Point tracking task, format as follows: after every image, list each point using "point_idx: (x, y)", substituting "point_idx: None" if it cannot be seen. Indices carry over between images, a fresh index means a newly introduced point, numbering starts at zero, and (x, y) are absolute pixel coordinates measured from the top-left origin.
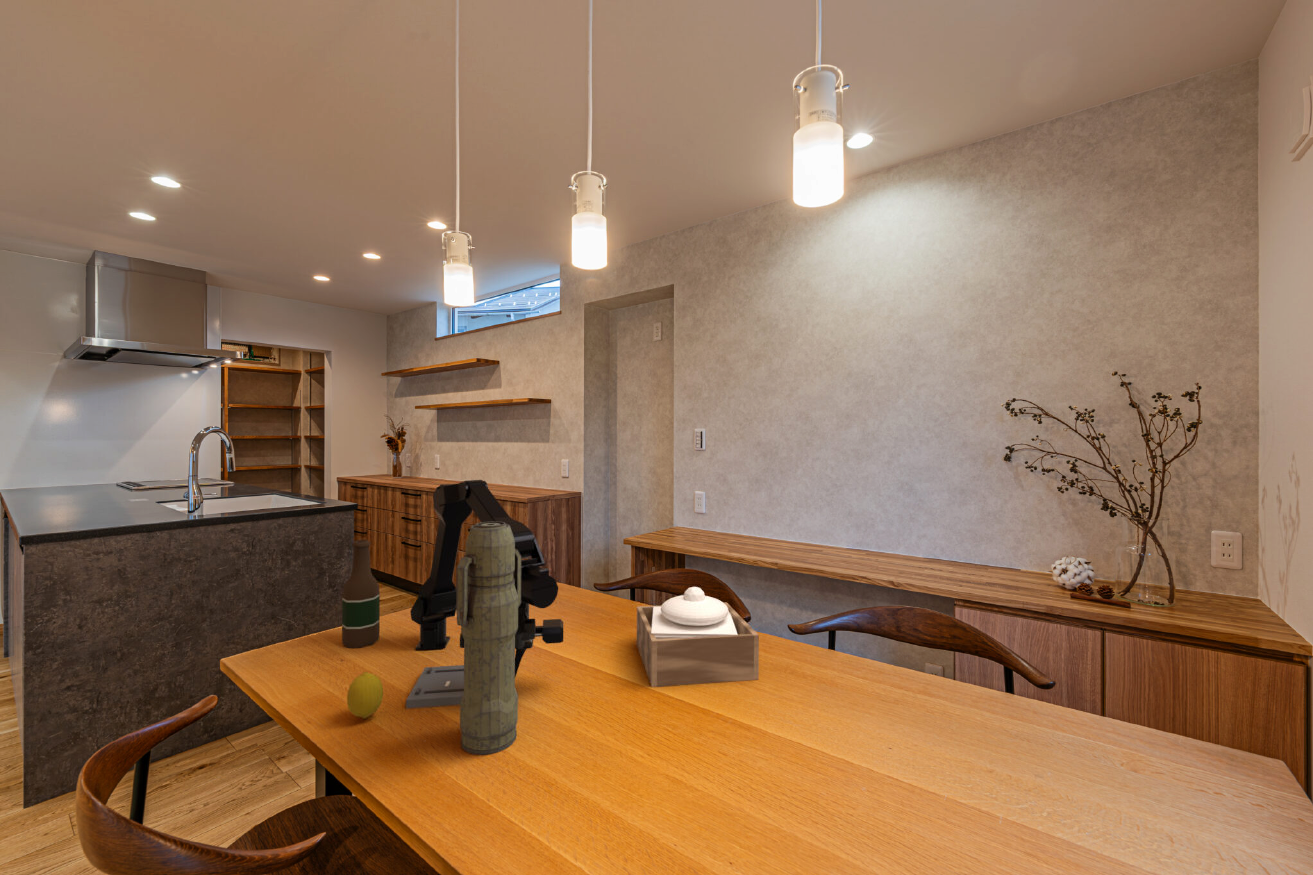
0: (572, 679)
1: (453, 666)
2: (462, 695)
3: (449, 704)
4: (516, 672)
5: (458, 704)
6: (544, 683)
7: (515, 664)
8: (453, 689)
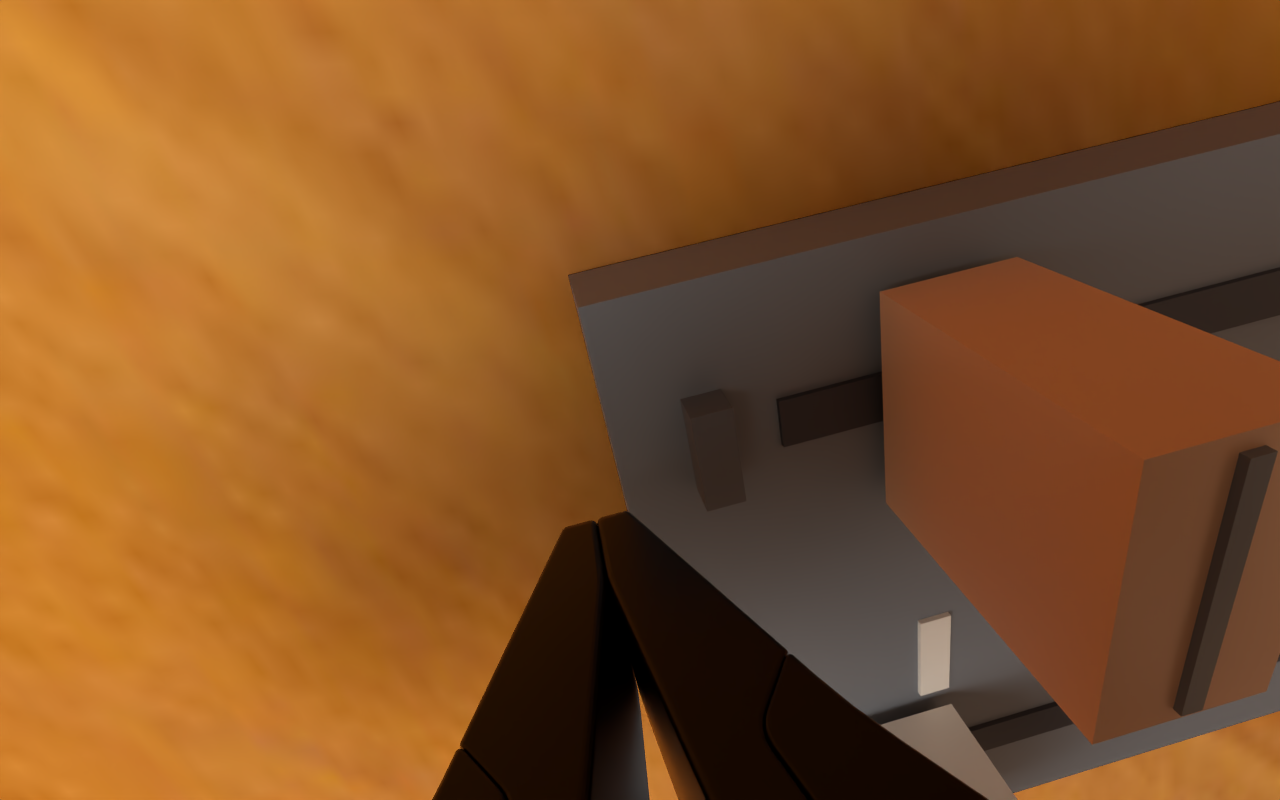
0: (53, 790)
1: (1225, 717)
2: (1160, 186)
3: (1221, 118)
4: (539, 582)
5: (1123, 141)
6: (326, 674)
7: (562, 687)
8: (1257, 315)
